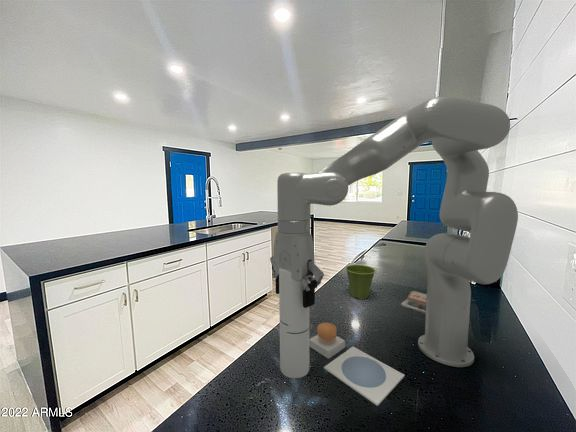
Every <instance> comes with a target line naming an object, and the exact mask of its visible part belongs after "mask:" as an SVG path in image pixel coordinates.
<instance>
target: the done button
mask: <svg viewBox="0 0 576 432" xmlns="http://www.w3.org/2000/svg"><path fill="white" fill-rule="evenodd" d="M316 327H317V330H316V331H317V333H316V335H317V334H318V336H319V337H320V338H321V339H324V340H333V339H335V338H336V336H337V335H338V333H337V332H338V331H337V330H338V327H337V326H336V325H335V324H333V323H332V322H321V323H319V324H318V325H317V326H316Z"/></svg>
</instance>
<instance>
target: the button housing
mask: <svg viewBox="0 0 576 432" xmlns="http://www.w3.org/2000/svg"><path fill="white" fill-rule="evenodd" d="M309 348H310V349H313V350H314V351H315V352H317V353H319V354H320V355H322V356H323V357H324V358H327V359H328V360H329V359H331V358H332V357H334V356H335V355H336V354H338V353H339V352H341V351H343V350H344V349H345V348H346V340H345V339H343V338H341V337H340V336H336V338H335V339H333V340H324V339H321V338H320V337H319V336H318V334H317V333H316V335H314V336H312V337H311V338H310V337H309Z"/></svg>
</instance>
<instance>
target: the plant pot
mask: <svg viewBox="0 0 576 432" xmlns="http://www.w3.org/2000/svg"><path fill="white" fill-rule="evenodd" d="M345 270H346V274H347V278H348V285H349V294H350V296H351V297H353V298H357V299H360V300H361V299H362V300H364V299H367V298H369V296H370V290H371V287H372V282H373V278H374V275H375V273H376V272H377V271H376V269H375V268H373V267H371V266H368V265H364V264H350V265H349V264H348V265H347V266H346V267H345Z"/></svg>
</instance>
